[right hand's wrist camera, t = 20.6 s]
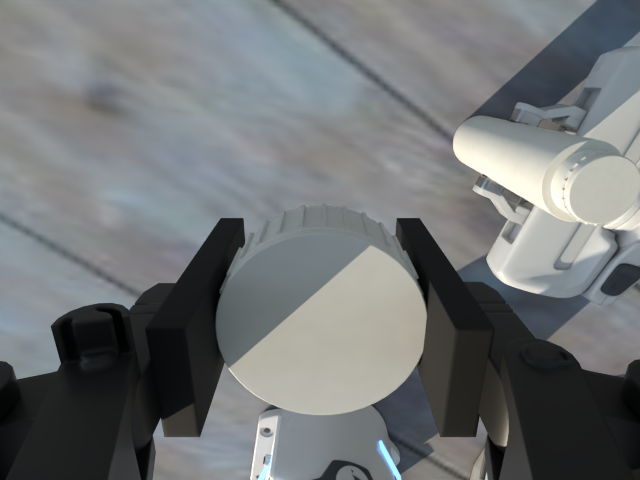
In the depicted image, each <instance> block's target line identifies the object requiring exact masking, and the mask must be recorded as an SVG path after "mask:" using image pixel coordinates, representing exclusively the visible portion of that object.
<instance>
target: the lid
mask: <svg viewBox="0 0 640 480" xmlns="http://www.w3.org/2000/svg"><path fill="white" fill-rule="evenodd" d="M418 278H419V277H418V275H417V273H416V271H415V268H414V266H413V264H412V262H411V260H410V258H409V256H408V254H407V252H406V250H405V251H403V249H402V247H401V245H400V243H399V241H398V239H397V237H396V236H395V235H394V236H392V235H391V234H390V233H389V232H388V231H387V230H386V229H385V228H384V225H383V224H382V223H381V222H380V223H379V224H378V223H377V222H375V221H374V220H372V219H370V218H368V217H367V215H366V213H364V212H362V214H360V213H357V212H355V211H352V210H348V209H347V207H346V206H342V208H340V207H333V206H326V204H322V206H311V207H305V205H302V206H301V208H299V209H295V210H291V211H289V212H285V211H282V212H281V214H280V215H279V216H277V217H275V218H273V219H271V220H270V221H267V220H265V221H264V222H263V224H262V226H261V227H260V228H259V229H258V230H257V231H256V232H255V233H254V234H253V233H252V232H251V233H250V234H249V236H248V238H247V240H246V242H245V245H244V246H243V248H240V247H239V249H238V251H237V253H236V255H235V257H234V259H233V262H232V264H231V266H230V268H229V270H228V272H227V276H226V278H225V280H224V282H223V284H222V286H221V288H220V291H219V293H220V294H221V296H220V299H219V301H218V306H217V310H216V319H215V329H216V338H217V342H218V346H219V349H220V352H221V354H222V357H223V359H224V361H225V363H226V364H227V366H228V368H229V369H230V371H231V372H232V373H233V375H234V376H235V377H236V378H237V380H238V381H239V382H240V383H241V384H242V385H243V386H244V387H245V388H247V389H248V390H249V391H251V392H252V393H253V394H254V395H256V396H257V397H259V398H261V399H262V400H264V401H266V402H268V403H270V404H272V405H275V406H277V407H279V408H283V409H286V410H289V411H293V412H297V413H302V414H312V415H332V414H341V413H346V412H351V411H355V410H358V409H361V408H364V407H367V406H369V405H371V404H373V403H376V402H378V401H379V400H381V399H383V398H385V397H386V396H388V395H389V394H390V393H392V392H393V391H394V390H396V389H397V388H398V387H399V386H400V385H401V384H402V383H403V382H404V381H405V380H406V379H407V378H408V377H409V375H410V374H411V373H412V372H413V370H414V369H415V367H416V365H417V364H418V362H419V360H420V358H421V356H422V353H423V347H424V338H425V329H426V320H427V307H426V302H425V299H424V297H423V292H422V289H421V287H420V285H419V283H418V281H417V279H418Z"/></svg>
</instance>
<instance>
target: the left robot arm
mask: <svg viewBox="0 0 640 480" xmlns="http://www.w3.org/2000/svg"><path fill="white" fill-rule="evenodd" d="M551 118H552V122H555V123H557V124H559V125H560V127H559V129H558V131H559V132H563V133H568V134H572V135H577V136H582V137H586V138H591V139H596V140H600V141H604V142H607V143H609V144H611V145H613V146H614V147H615V148H617V149H618V150H619V151H620V153H621V154H622V156H624V157H626V158H628V159H630V160H631V161H632V162H633V163H634V164H635V165H636V166H637V168H638V169H639V172H640V47H639V46H630V47H621V48H617V49H614V50H611V51H609V52H606V53H603V54H602V55H601V56H600V57H599V58H598V60H597V61H596V63H595V65H594V66H593V68H592V70H591V72H590V74H589V75H588V77H587V79H586V81H585V83H584V84H583V86H582V88H581V90H580V92H579V93H578V95H577V97H576V99H575V100H574V102H573V104H572V105H562V104H558V105H553V106H547V107H542V108H537V107H534V106H532V105H529V104H526V103H521V102H517V104H516V106H515V108H514V110H513V112H512V114H511V116H510V118H509V120H510V121H512V122H517V123H521V124H526V125H531V126H535V127H538V125H539V123H540V122H541V120H544V119H551ZM504 188H505V187H504V186H502V185H500V184H498V183H497V182H495V181H493V180H492V179H490V178H488V177H487V176H485V175H483V174H481V175H480V177H479V178H478V180H477V182H476V184H475V186H474V188H473V190H474V191H475V192H477V193H478V194H480V195H482V196H485V197H488V198H490V199H491V201H492V202H493V204H494V205H495V207H496V208H497V209H498V211H499V212H500V213H501V214H502V215H503V216H505V217H506V218H507V219H508V220H507V222H506V224H505V225H504V227H503V229H502V231H501V233H500V234H499V236H498V238H497V240H496V242H495V243H494V245H493V247H492V249H491V250H490V252H489V254H488V256H487V263H488V265H489V267H490V269H491V271H492V272H493V273H494V275H495V276H496V277H497V278H498V279H499V280H501V281H502V282H503V283H505V284H507V285H509V286H512V287H515V288H518V289H521V290H525V291H528V292H532V293H536V294H540V295H545V296H550V297H555V298H570V297H574V296H577V295H579V294H580V295H582V296H583V297H585V298H586V299H588V300H590V301H592V302H594V303H596V304H598V305H602V306H606V305H609V304H611V303H613V302H614V301H616V300H617V299H618V298H619V297H621V296H622V295H623V294H624V293H625V292H627V291H628V290H629V289H630V288H631V287H633V286H634V285H635V284H637V283H638V282H639V281H640V192H639V195H638V197H637V199H636V201H635V203H634V204H633V205H632V207H631V208H630V209H629V210H628V211H627V212H626V213H624V214H623V215H622V216H620V217H619V218H617V219H615V220H613V221H610V222H607V223H606V224H604V225H598V226H595V225H586V224H583V223H581V222H569V221H564V220H561V219H559V218H557V217H555V216H553V215H551V214H550V213H548V212H546V211H545V210H543V209H541V208H539V207H538V206H536V205H534V204H533V203H531V202H529V201H527V200H526V199H524V198H522V197H520V199H519V200H518V202H514V201H512V200H507V201H506V200H505V198H504V197H503V195H502V192H503V190H504ZM267 428H269V429H267ZM399 462H400V453H399V450H398V448H397V447H396V446H395V445H394V443H393V442H392V441H391V440H390V439H389V436H388V432H387V428H386V424H385V422H384V420H383V418H382V416H381V415H380V414H379V412H378V411H377V410H376V409H375V408H374V407H373V406H371V405H369V406H367V407H364V408H361V409H358V410H355V411H351V412H346V413H341V414H332V415H312V414H302V413H297V412H293V411H289V410H286V409H283V408H278V409H273V410H268V411H265V412H263V413H262V414H261V415H260V416H259V421H258V428H257V435H256V442H255V449H254V456H253V463H252V469H251V476H250V480H395V476H396V478H397V480H401V477H400V474H399V472H398V470H397V468H396V466H397V465H398V463H399ZM394 475H395V476H394Z"/></svg>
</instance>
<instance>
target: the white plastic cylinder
mask: <svg viewBox="0 0 640 480" xmlns="http://www.w3.org/2000/svg"><path fill="white" fill-rule="evenodd" d="M453 148H454V152H455V154H456V156H457V158H458V159H459V160H460V161H461V162H463V163H464V164H466V165H468V166H469V167H471V168H473V169H475V170H476V171H478V172H480V173H481V174H483V175H485V176H487V177H488V178H490V179H492V180H493V181H495V182H497V183H498V184H500V185H502V186H504V187H505V188H507V189H509V190H510V191H512V192H514V193H516V194H517V195H519V196H521V197H522V198H524V199H526V200H527V201H529V202H531V203H533V204H534V205H536V206H538V207H539V208H541V209H543V210H545V211H546V212H548V213H550V214H551V215H553V216H555V217H557V218H559V219H561V220H564V221H569V222H581V223H583V224H586V225H595V226H598V225H604V224H606V223H607V222H610V221H613V220H615V219H617V218H619V217H620V216H622V215H623V214H624V213H626V212H627V211H628V210H629V209H630V208H631V207H632V205H633V204H634V203H635V201H636V199H637V197H638V195H639V192H640V172H639V169H638V168H637V166H636V165H635V164H634V163H633V162H632V161H631V160H630V159H628V158H626V157H624V156H622V154H621V153H620V151H619V150H618V149H617V148H615V147H614V146H613V145H611V144H609V143H607V142H604V141H600V140H596V139H591V138H586V137H582V136H577V135H572V134H568V133H563V132H559V131H554V130H549V129H545V128H540V127H535V126H531V125H526V124H521V123H517V122H512V121H508V120H503V119H498V118H494V117H489V116H482V115H480V116H474V117H472V118H469V119H468V120H466V121H465V122H463V123H462V124H461V125H460V127H459V128H458V129H457V131H456V133H455V136H454V140H453Z"/></svg>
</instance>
